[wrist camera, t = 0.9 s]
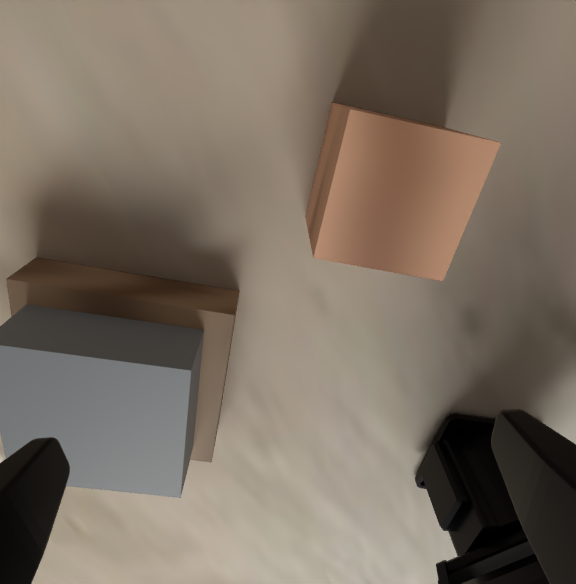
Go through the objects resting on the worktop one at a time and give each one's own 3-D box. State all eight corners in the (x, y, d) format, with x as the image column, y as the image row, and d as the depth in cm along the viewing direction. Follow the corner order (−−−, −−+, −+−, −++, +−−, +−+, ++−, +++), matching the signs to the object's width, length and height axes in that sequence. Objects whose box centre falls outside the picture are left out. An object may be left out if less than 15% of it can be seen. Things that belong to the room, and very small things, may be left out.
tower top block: (204, 329, 19) (190, 370, 16) (192, 448, 22) (180, 497, 20) (26, 304, 18) (-19, 342, 15) (44, 431, 22) (10, 479, 19)
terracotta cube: (444, 127, 17) (501, 143, 13) (405, 235, 19) (443, 281, 15) (331, 102, 17) (350, 109, 12) (305, 216, 19) (313, 258, 14)
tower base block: (240, 285, 21) (234, 315, 18) (218, 423, 26) (211, 462, 23) (42, 253, 20) (6, 278, 17) (56, 401, 25) (29, 440, 22)
